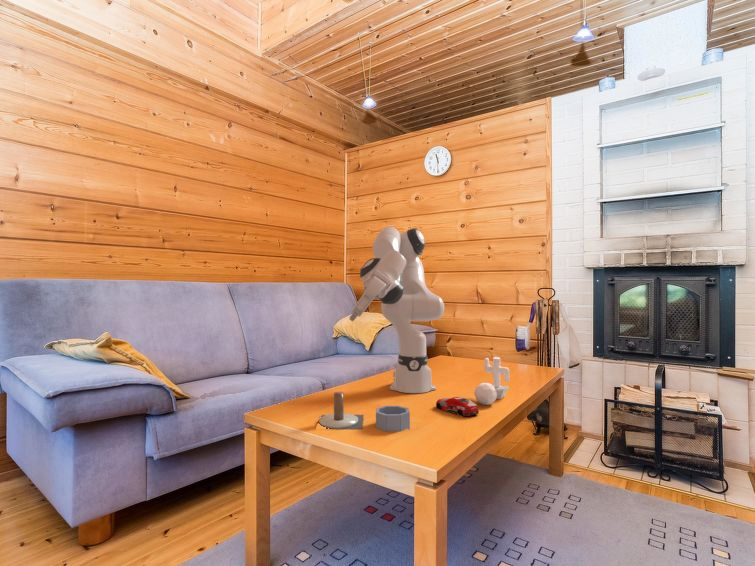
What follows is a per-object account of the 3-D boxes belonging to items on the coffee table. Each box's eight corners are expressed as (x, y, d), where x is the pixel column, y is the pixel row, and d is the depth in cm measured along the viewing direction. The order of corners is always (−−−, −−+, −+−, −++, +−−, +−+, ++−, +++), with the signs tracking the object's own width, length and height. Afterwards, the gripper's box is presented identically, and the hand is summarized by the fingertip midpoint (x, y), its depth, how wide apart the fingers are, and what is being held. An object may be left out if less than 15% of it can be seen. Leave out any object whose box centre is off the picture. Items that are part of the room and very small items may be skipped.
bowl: (375, 421, 134) (375, 405, 134) (407, 421, 134) (407, 405, 134) (376, 432, 124) (376, 415, 124) (410, 432, 124) (410, 415, 124)
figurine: (506, 400, 158) (506, 360, 158) (481, 397, 163) (481, 357, 163) (511, 396, 164) (511, 357, 164) (487, 393, 169) (487, 355, 169)
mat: (320, 416, 140) (320, 415, 140) (363, 415, 140) (363, 414, 140) (314, 430, 126) (314, 429, 126) (362, 430, 126) (362, 429, 126)
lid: (321, 416, 138) (321, 388, 138) (358, 416, 138) (358, 388, 138) (316, 428, 126) (316, 398, 126) (357, 428, 126) (357, 398, 126)
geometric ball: (483, 413, 152) (473, 397, 149) (478, 399, 159) (468, 384, 157) (502, 403, 150) (492, 387, 148) (497, 390, 158) (487, 374, 155)
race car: (432, 408, 150) (432, 394, 150) (445, 405, 154) (445, 391, 154) (467, 419, 137) (467, 404, 137) (481, 415, 141) (481, 400, 141)
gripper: (361, 292, 157) (340, 319, 150) (377, 267, 139) (354, 297, 132) (375, 302, 157) (354, 330, 150) (393, 279, 139) (370, 309, 132)
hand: (354, 314), depth 141 cm, fingers open, 8 cm apart
